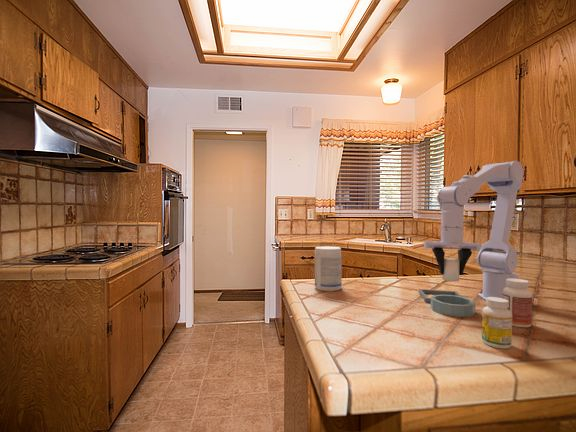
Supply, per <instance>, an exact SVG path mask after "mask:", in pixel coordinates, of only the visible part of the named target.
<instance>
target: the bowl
mask: <svg viewBox="0 0 576 432" xmlns="http://www.w3.org/2000/svg"><path fill="white" fill-rule="evenodd" d="M430 298H431V303H430V307H429V308H430V309H431V310H432V311H434V312H436V313H439V314H440V315H445V316H450V317H460V318H466V317H467V318H469V317H473V316H475V315H476V307H477V306H476V302H475V301H474V300H473V299H470V298H467V297H465V296H463V297H460V296H455V295H441V294H433V295H432V296H430Z"/></svg>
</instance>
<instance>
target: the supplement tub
mask: <svg viewBox="0 0 576 432" xmlns="http://www.w3.org/2000/svg"><path fill="white" fill-rule="evenodd" d="M342 255H343V254H342V248H341V247H340V246H329V245H327V246H325V245H324V246H316V247H314V287H315V289H316V290H318V291H322V292H335V291H340V290H342V289H341V288H342V286H343V285H342V283H343V282H342V280H343V279H342V274H343V273H342V270H343V269H342V268H343V266H342V263H343V262H342V260H343V258H342Z"/></svg>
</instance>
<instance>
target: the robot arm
mask: <svg viewBox="0 0 576 432" xmlns="http://www.w3.org/2000/svg"><path fill="white" fill-rule="evenodd" d="M524 171H525V170H524V168H523V165H522V163H520V161H518V160H512V161H507V162H500V163H499V162H498V163H487V164H485V165H482V167H481V170H479V171H478V172H477V173H475V174H474V175H471V174H464V175H462V177H461V179H459V180H457V181H453V182H452V184H451V185H449V186H443V187H441V188H440V190H439V191H438V193H437V196H436V199H437V202H438V205H439V210H440V213H441V218H440V219H441V221H440V222H441V224H440V241H435V240H434V241H433V240H432V241H430V240H429V241H428V240H427V241H424V242H423V248H424V249H431V250H432V252H433V254H434V257H435V259H436V262H437V266H438V269H439V270H438V272H439V274H440V275H442V274H444V258H445V256H446V255H445V254H446V251H444V249H445V250H457V259H460V271H459V276H463V274H464V271H465V267H466V266H467V263H468V262H469V259H470V257H471V256H472V255H473V251H479V252H478V253H477V256H476V262H477V265H478V266H479V267H480V270H481V271H482V292H481V293H477V295H478V296H479V297H481V298H482V299H483V300H485V301H486V299H487V297H498V298H502V293H503V289H504V288H505V287H507V285H506V279H520V278H519V275H518V273H516V272H514V271H515V270H516V268H517V267H518V256H517V255H518V250H517V249H516V248H515V247H514V246H513V245H512V244H511V243H510V242H509V241H510V236H511V229H512V223H513V218H514V212H515V207H516V201H517V196H518V195H517V194H518V191H519V190H520V189H521V188H522V186H523V179H524V175H525V173H524ZM484 184H486V185H487V186H488V187H489V188H490V189H491V191H495V192H496V194H497V197H496V202H495V209H494V214H493V219H492V225H491V230H490V237H489V240H487V241H486V242H483V244H481V243H479V242H466V241H465V242H464V210H465V209H464V208H465V206H466V205H467V204H468V203H469V200H470V198H471V197H472V196H474V195H475V194H476V193H478V192H479V191H480V190H481V187H482V186H483V185H484Z"/></svg>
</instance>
